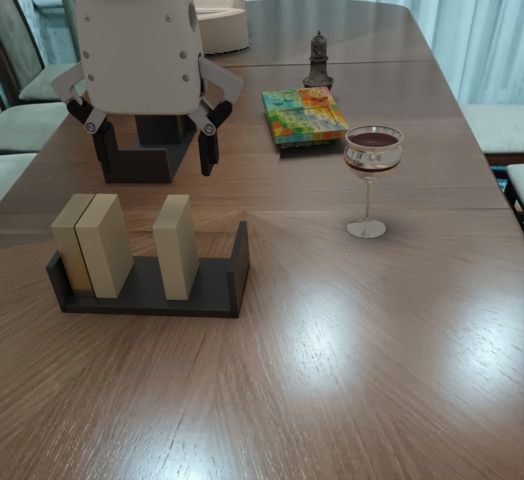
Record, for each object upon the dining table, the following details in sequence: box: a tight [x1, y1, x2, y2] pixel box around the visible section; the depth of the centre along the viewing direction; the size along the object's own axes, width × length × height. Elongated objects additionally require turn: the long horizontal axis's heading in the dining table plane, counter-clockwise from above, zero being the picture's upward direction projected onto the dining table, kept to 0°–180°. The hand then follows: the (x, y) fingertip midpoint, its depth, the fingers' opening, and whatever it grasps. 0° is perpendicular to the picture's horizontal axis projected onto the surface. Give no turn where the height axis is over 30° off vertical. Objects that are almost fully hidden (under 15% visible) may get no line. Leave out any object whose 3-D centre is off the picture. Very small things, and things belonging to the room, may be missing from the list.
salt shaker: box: [301, 29, 335, 93], centre depth 104 cm, size 6×6×12 cm
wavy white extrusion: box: [194, 0, 250, 54], centre depth 139 cm, size 35×16×11 cm, turn 1°
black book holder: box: [45, 193, 251, 319], centre depth 63 cm, size 20×10×10 cm, turn 84°
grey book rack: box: [99, 114, 198, 185], centre depth 89 cm, size 20×10×10 cm, turn 174°
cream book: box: [151, 194, 200, 300], centre depth 62 cm, size 2×7×9 cm, turn 174°
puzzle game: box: [260, 86, 351, 149], centre depth 96 cm, size 12×5×20 cm
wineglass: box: [343, 124, 405, 239], centre depth 70 cm, size 7×7×12 cm
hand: (160, 169), depth 56 cm, fingers open, 9 cm apart
